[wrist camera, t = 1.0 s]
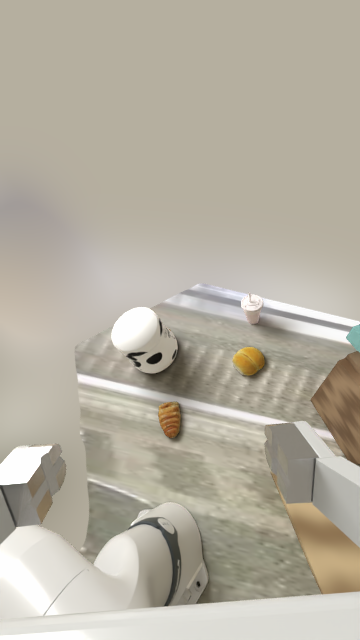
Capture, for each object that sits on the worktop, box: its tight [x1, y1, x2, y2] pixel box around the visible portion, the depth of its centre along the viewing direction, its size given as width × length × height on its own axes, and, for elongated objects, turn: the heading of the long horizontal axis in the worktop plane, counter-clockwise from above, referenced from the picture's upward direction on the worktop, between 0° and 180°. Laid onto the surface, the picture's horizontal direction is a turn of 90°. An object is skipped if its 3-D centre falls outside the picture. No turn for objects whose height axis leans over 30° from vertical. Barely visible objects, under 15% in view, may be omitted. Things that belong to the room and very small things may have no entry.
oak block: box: [271, 472, 360, 594], centre depth 37 cm, size 16×10×16 cm, turn 14°
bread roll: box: [233, 347, 265, 376], centre depth 63 cm, size 8×9×4 cm
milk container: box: [112, 307, 178, 373], centre depth 69 cm, size 17×17×18 cm
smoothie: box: [241, 292, 263, 324], centre depth 66 cm, size 6×6×14 cm
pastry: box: [158, 402, 181, 438], centre depth 61 cm, size 9×7×4 cm
